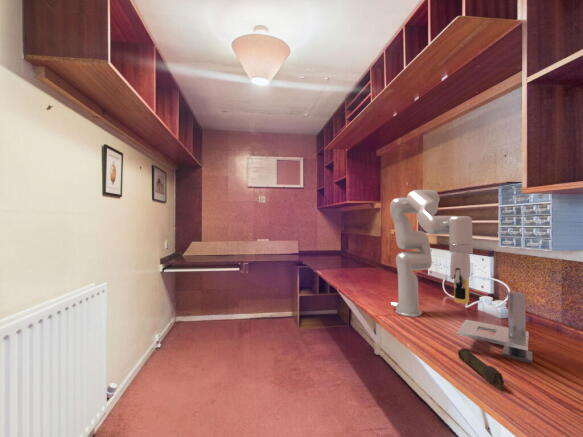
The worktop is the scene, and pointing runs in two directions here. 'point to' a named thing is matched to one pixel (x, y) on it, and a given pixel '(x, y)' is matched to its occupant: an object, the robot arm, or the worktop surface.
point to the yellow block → (466, 286)
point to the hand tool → (482, 368)
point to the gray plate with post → (505, 330)
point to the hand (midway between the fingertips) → (461, 296)
